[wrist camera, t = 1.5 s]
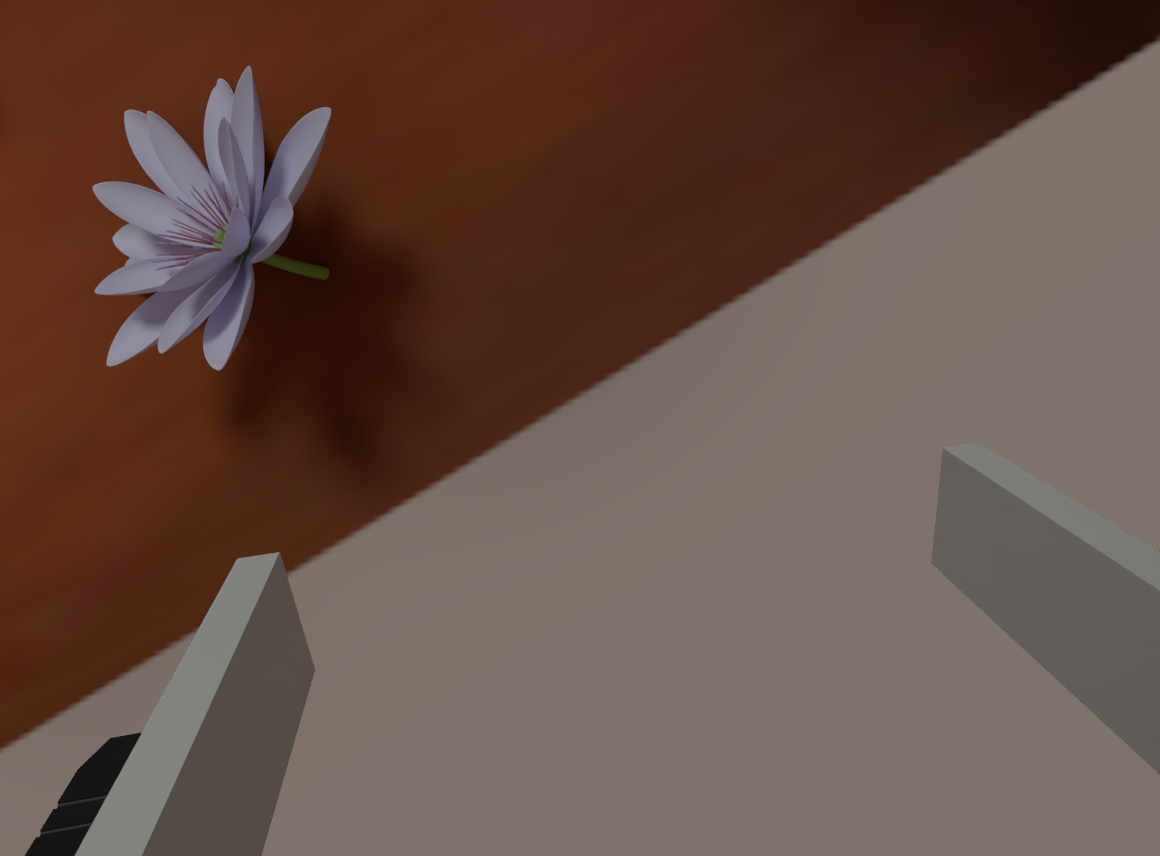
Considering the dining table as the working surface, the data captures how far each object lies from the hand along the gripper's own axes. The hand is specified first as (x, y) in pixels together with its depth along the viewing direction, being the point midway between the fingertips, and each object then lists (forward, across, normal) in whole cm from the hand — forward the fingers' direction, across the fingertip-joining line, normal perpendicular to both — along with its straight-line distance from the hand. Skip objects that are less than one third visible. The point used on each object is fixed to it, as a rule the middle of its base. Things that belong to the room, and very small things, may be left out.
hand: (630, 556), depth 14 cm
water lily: (+26, -13, +6) cm, 29 cm away
